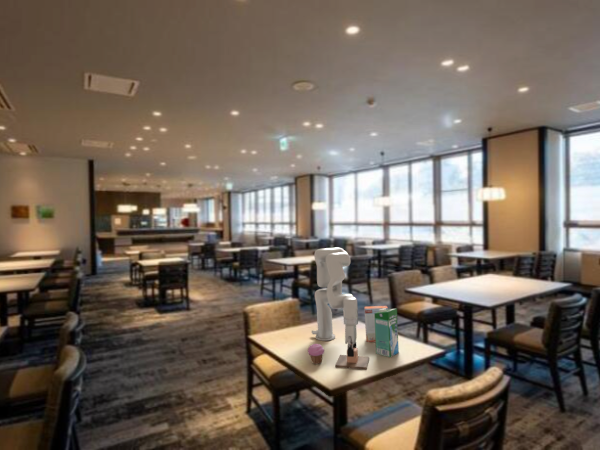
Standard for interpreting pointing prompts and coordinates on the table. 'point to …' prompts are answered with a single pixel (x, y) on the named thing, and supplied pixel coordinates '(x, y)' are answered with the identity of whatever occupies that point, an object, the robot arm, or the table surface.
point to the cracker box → (371, 321)
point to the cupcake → (316, 353)
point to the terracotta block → (353, 359)
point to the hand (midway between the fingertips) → (352, 352)
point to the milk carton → (386, 332)
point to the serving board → (360, 364)
